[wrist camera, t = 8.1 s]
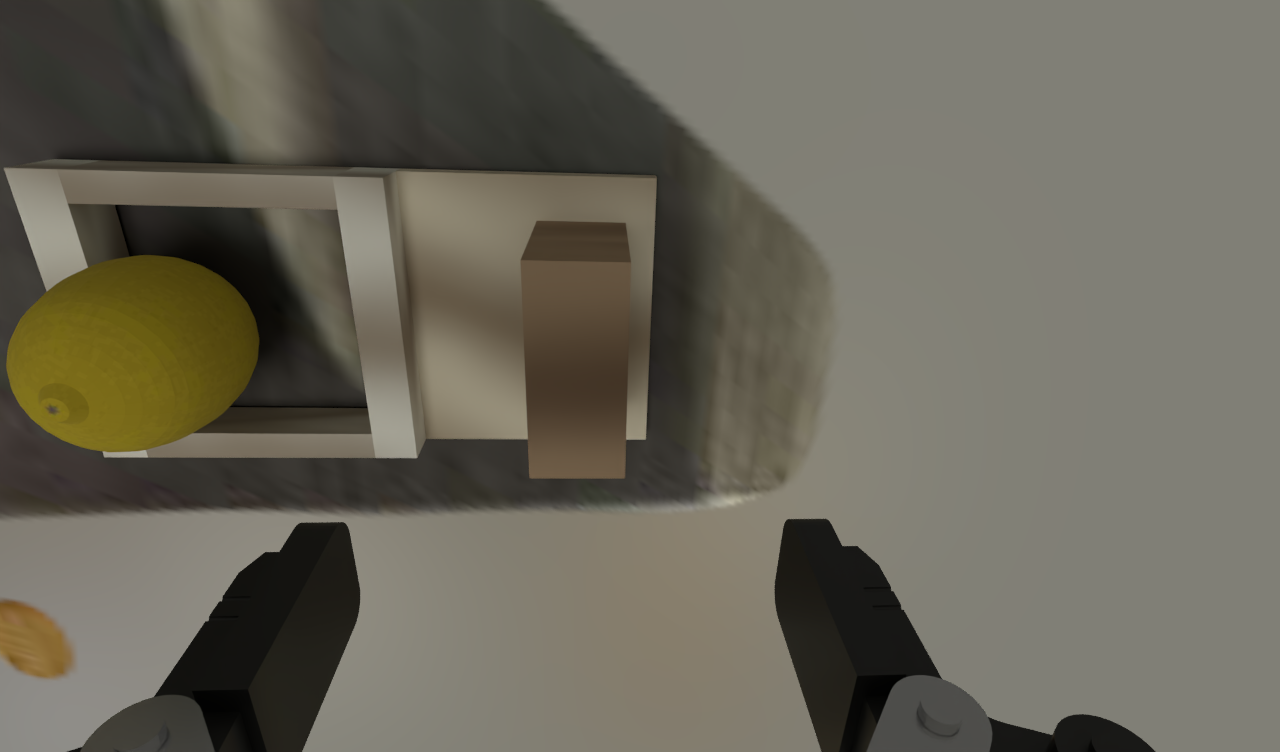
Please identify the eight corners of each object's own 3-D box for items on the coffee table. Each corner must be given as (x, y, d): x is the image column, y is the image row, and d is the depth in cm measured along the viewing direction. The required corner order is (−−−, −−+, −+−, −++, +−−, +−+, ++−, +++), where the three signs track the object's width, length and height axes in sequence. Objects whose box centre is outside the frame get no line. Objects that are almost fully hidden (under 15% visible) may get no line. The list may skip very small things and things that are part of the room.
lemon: (303, 255, 24) (172, 340, 16) (289, 392, 26) (167, 521, 19) (132, 210, 23) (-86, 279, 16) (132, 355, 25) (-61, 476, 18)
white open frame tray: (53, 159, 22) (-113, 188, 17) (655, 175, 23) (670, 207, 18) (139, 429, 26) (27, 518, 21) (644, 432, 27) (654, 517, 22)
